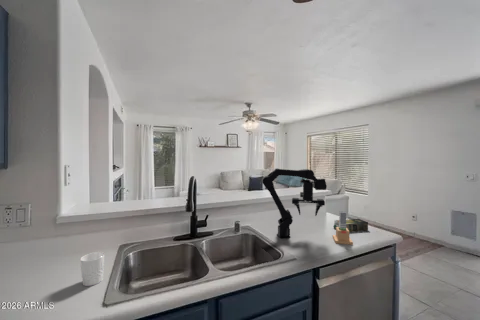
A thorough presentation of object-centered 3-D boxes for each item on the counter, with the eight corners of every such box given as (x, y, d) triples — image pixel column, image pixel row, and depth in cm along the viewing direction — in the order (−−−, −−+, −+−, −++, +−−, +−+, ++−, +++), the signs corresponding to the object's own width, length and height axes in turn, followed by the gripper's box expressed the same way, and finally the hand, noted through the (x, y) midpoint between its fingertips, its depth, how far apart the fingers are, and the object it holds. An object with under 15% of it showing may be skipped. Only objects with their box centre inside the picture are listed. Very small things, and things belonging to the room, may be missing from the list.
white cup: (108, 275, 92) (108, 251, 91) (97, 287, 84) (96, 261, 83) (89, 275, 91) (88, 252, 91) (75, 287, 83) (75, 261, 83)
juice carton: (341, 233, 142) (341, 223, 141) (332, 228, 151) (332, 219, 151) (368, 231, 146) (368, 222, 145) (357, 226, 155) (358, 217, 155)
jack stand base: (335, 243, 125) (335, 231, 125) (332, 237, 134) (332, 226, 133) (352, 244, 123) (353, 232, 123) (348, 238, 131) (349, 227, 131)
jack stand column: (340, 232, 127) (340, 212, 126) (339, 230, 130) (339, 211, 129) (346, 232, 126) (346, 213, 126) (344, 231, 129) (345, 211, 129)
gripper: (322, 188, 140) (322, 212, 140) (292, 187, 144) (291, 211, 144) (325, 191, 129) (324, 217, 129) (292, 190, 133) (292, 215, 134)
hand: (307, 215), depth 135 cm, fingers open, 9 cm apart
